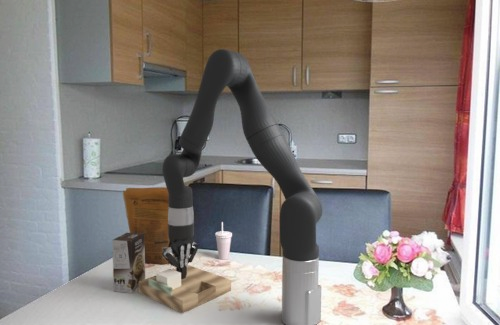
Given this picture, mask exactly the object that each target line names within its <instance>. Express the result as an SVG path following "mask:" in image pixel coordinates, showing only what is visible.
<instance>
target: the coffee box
mask: <svg viewBox="0 0 500 325" xmlns="http://www.w3.org/2000/svg"><path fill="white" fill-rule="evenodd" d="M112 272H113V273H112V276H113V292H118V293H128V294H133V293H134V292H135V291H136V290H138V289H139V281H142V280H145V279H146V263H145V241H144V233H130V232H125V233H123V234H121V235H119V236H117V237H116V238H114V239H112Z"/></svg>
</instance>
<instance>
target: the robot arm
mask: <svg viewBox="0 0 500 325" xmlns="http://www.w3.org/2000/svg"><path fill="white" fill-rule="evenodd" d="M203 70H204V71H203V74H202V77H201V81H200V85H199V88H198V92H197V94H196V97H195V98H196V99H195V101H194V105H193V108H192V111H191V113H190V116H189V117H188V120H187V122H186V124H185V125H184V127H183V130H182V133H181V135H180V137H179V141H178V144H179V146H180V147H181V149H182V151H181V153H176V154H170V155H168V156H165V158H164V161H163V162H162V176H163V180H164V183H165V188H167V190H168V194H169V195H168V202H169V209H168V237H169V240H170V242H169V245H168V247H169V248H168V249H167V250H166V252H165V251H163V252H162V255H163V256H164V258H165V259H166V260H167V261H168V262H169V263H170V264H169V265H170V266H173V267H175V269H176V271H177V272H180V273H181V279H184V278H186V275H187V265H189V264H190V263H192V262H193V260H194V258H195V256H196V254H197V252H198V250H199V248H200V244H199V243H196V242H195V241H194V238H193V237H194V236H195V222H194V221H195V216H194V215H195V213H194V206H193V205H194V204H193V203H194V201H193V200H194V199H193V197H194V196H193V195H194V194H193V188H192V187H191V186H188V185H186V184H185V181H184V178H188V177H191V176H193V175H194V174H195V173H196V172H197V170H198V168H199V166H200V163H201V162H200V161H201V156H202V154H203V152H202V151H203V148H204V146H205V144H206V142H207V140H208V138H209V136H210V134H211V132H212V129H213V125H214V120H215V110H216V107H217V103H218V102H219V101H218V100H219V98H220V96H221V94H222V93H223V91H224V90H225V88H226V87H227V88H228V89H229V90H230V92H231V93H232V95H233V97H234V99H235V102H236V103H237V105H238V108H239V110H240V119H241V125H242V132H243V135H244V137H245V139H246V142H247V144H248V146H249V148H250V150H251V151H252V154H253V155H254V157H255V158H256V160H257V161H258V162H259V163H260V165H261V166H262V167H263V169H265V170H266V171H267V172H268V174H269V175H271V177H272V178H273V179H274V180H275V182H276V183H277V185H278V187H279V189H280V191H281V192H282V194H283V197H284V199H285V200H284V201H283V202H282V204H281V206H280V211H279V241H280V247H281V250H282V265H281V266H282V269H281V271H282V272H281V277H282V278H281V321H282V323H284V324H285V325H317V324H318V323H320V322H321V318H322V285H321V284H319V266H320V264H319V262H320V261H319V260H320V247H319V244H318V243H317V223H318V222H319V221H320V220H321V218H322V215H323V206H322V205H323V204H322V202H321V199H320V198H319V196H318V195H317V193H316V192H315V190H314V189H313V187H312V186H311V184H310V183H309V182H308V180H307V178H306V177H305V175H304V174H303V172H302V170H301V169H300V166H299V163H298V162H297V160H296V157H295V155H294V152H292V148H291V147H290V146H289V144H288V141H287V139H286V137H285V135H284V132H283V131H282V129H281V127H280V125H279V123H278V121H277V119H276V118H275V116H274V114H273V113H272V111H271V109H270V107H269V105H268V104H267V101H266V100H265V98H264V95H263V94H262V92H261V89H260V88H259V85H258V83H257V81H256V78H255V76H254V73H253V70H252V68H251V66H250V63H249V61H248V59H247V58H246V57H245V56H244V55H243V54H242V53H240V52H237V51H234V50H230V49H225V48H222V49H221V48H219V49H217V50H216V49H215V51H213V52H212V53H211V55H209V57H208V59H207V61H206V64H205V67H204V69H203ZM172 253H173V254H172ZM173 256H174V257H173Z"/></svg>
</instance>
